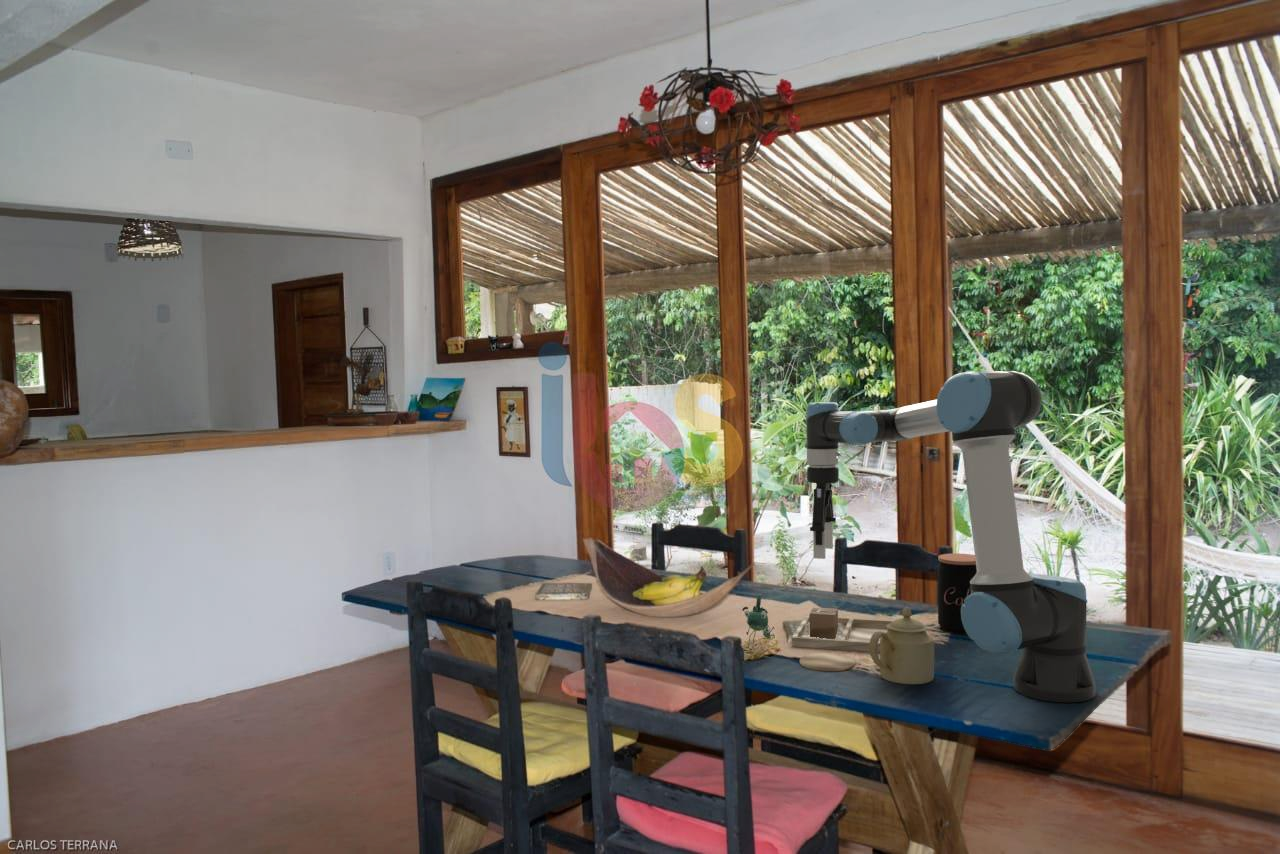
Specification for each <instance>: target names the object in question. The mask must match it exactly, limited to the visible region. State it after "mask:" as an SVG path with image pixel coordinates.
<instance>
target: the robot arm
mask: <svg viewBox="0 0 1280 854" xmlns="http://www.w3.org/2000/svg"><path fill="white" fill-rule="evenodd" d="M1042 396H1043V395H1042V392H1041V389H1040V387H1039V385H1038V384H1037V382H1036V381H1035V380H1034V379H1033V378H1032V377H1030V376H1029V375H1027V374H1025V373H1022V372H1019V371H1014V370H1004V371H1003V370H1002V371H1000V370H999V371H995V370H994V371H993V370H973V371H972V370H970V371H965V372H959V373H956V374H953V375H952V376H951V377H949V378H948V379H947V380H946V381H945V382H944V384H943V386H942V387H941V388H940V389H939V392H938V395H937V399H933V400H928V401H925V402H924V401H923V402H920V403H914V404H911V405H905V406H902V407H901V406H900V407H896V408H892V409H882V410H881V409H880V410H854V411H850V410H848V411H847V410H846V411H845V410H841V411H839V404H838V403H837V402H834V401H833V402H832V401H831V402H830V401H825V402H824V401H823V402H822V401H821V402H820V401H818V402H815V401H814V402H810V403H808V405H807V406H806V418H805V421H806V465H808V467H807V469H806V480H807V482H808V483H811V484H816V488H814V489H813V505H812V506H813V507H812V508H813V509H812V525H811V526H810V527H809V531H810V532H813V533H812V534H813V538H812V539H813V541H812V542H813V543H812V544H813V545H812V547H813V549H812V550H813V551H812V552H813V555H812V556H813V559H819V560H821V559H823V560H824V559H825V560H826V549H830V550H833V549H834V534H833V531H834V530H833V527H834V525H833V522H834V523H836V517H835V514H834V505H833V504H834V503H833V489H832V487H833V484H835V483H836V484H837V483H838V482H839V480H840V475H839V473H840V472H839V470H840V469H839V467H838V465H839V457H841V456H842V453H841V452H840V451H839V448H840V446H839V444H840V443H841V444H849V445H850V444H851V445H854V446H857V445H860V446H861V445H868V444H871V443H880V442H903V441H908V440H912V439H914V438H919V437H924V436H929V435H934V434H941V433H947V432H951V436H952V443H953V445H954V446H957V448H959V449H960V450H961V451H962V460H963V468H964V469H963V470H964V476H965V477H964V478H965V484H966V493H967V494H966V495H967V500H968V501H967V502H968V509H969V517H970V525H971V535H972V541H973V550H974V551H973V552H974V555H975V560H976V568H977V573H976V575H975V576H974V577H973V578H972V579H971V581H970V586H971V594H970V595H969V596H968V597H967V598H966V599H965V600H964V603H963V604H962V607H961V619H962V623H963V626H964V629H965V631H966V633H965V634H967V636H968V638H970V640H972V641H973V642H974V644H975V645H976V646H978V647H979V648H981V649H982V650H984V651H986V652H990V653H1002V652H1005V653H1009V652H1010V653H1011V652H1013V651H1016V650H1019V649H1022V652H1021V655H1020V657H1019V660H1018V662H1017V663H1018V664H1017V666H1016V668H1015V672H1014V674H1013V689H1014V690H1015V691H1016V692H1018V693H1019V694H1021V695H1024V696H1026V697H1029V698H1032V699H1034V700H1041V701H1048V702H1052V703H1053V702H1054V703H1081V702H1082V703H1083V702H1086V701H1090V700H1092V699H1094V698H1096V697H1095V696H1096V682H1095V679H1094V676H1093V672H1092V670H1091V666H1090V663H1089V661H1088V657H1087V604H1088V599H1087V588H1086V586H1085V584H1084V583H1083V582H1081V581H1080V580H1077V579H1073V578H1070V577H1065V576H1059V575H1051V574H1044V573H1043V574H1042V573H1028V572H1027V571H1026V570H1025V569H1024V562H1023V561H1024V560H1023V553H1022V544H1021V537H1020V530H1019V529H1020V528H1019V522H1018V514H1017V506H1016V498H1015V490H1014V481H1013V474H1012V466H1011V456H1010V450H1009V446H1010V444H1011V443H1012V441H1013V440H1015V438H1016V430H1015V429H1018V428H1021V427H1023V426H1026V425H1028V424H1030V423H1031V422H1032V421H1034V419H1035V418H1036V417H1038V414H1039V413H1040V412H1041V411H1040V410H1041V407H1042V401H1043V397H1042Z"/></svg>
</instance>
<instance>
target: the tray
mask: <svg viewBox="0 0 1280 854" xmlns="http://www.w3.org/2000/svg"><path fill="white" fill-rule="evenodd" d="M894 620H895V619H894ZM894 620H891V619H890V620H889V619H877V618H876V619H875V618H859V617H857V618H856V617H843V616H841V617H840V616H838V623H842V624H843V625H845V626H846V627H845V629H844V632H843V634H842V636H841V638H836V639H823V638H809V637H802V635H803V632H804V630H805V628H806V626H807V624H808V622H810V614H806V615H805V616H804V618H803V619H802V620H801V622H800V624H799V626H798V627H797V629H796V630H795V632H794V633H793V635H792V637H791V646H792V647H800V648H814V649H815V648H816V649H827V650H828V649H830V650H842V651H843V650H844V651H854V652H856V651H857V652H868V653H870V650H869V644H870V639H871V636H872V635H873V634H874V633H875V632H877V631H882V632H885V633H886V632H887V631H888V628H887V625H888V624H889V623H891V622H892V621H894ZM877 653H880V639H879V641H878V644H877Z"/></svg>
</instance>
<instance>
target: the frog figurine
mask: <svg viewBox="0 0 1280 854" xmlns="http://www.w3.org/2000/svg"><path fill="white" fill-rule="evenodd" d="M761 601H762V594H761V593H757V595H756V603H755V604H756V605H754V606H753V607H752V610H751V611H749V607H748V606H743V608H742V610H741V611H742V612H744V615H745V618H747V619H746V622H747V624H748V625H747V626H748V630H747V631H746V635H747V636H748V635H749V638H748V640H747V641H744V642H742V643H741V645H742V644H743V651H744V661H748V660H753V661H754V660H760V659H761V658H763V657H764V658H765V656H772V655H776V654H777V653H778V652H777V651H778V650H779V649H780V648H781V644H780V643H779V640H778V637H776V636H775V634H774V633H771V632H772V631H773V630H775V626H772V627H770V626H769V616H768V613H769V612H768V611H767V609H765V608H764V607H761V604H762V603H761ZM750 629H751V630H753V631H752V632H751V633H750V634H749V632H750ZM761 631H762V633H763V637H761V638H758V637H755V636H756V632H761ZM753 634H754V635H753ZM752 635H753V638H752V639H751V636H752Z"/></svg>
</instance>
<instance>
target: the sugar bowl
mask: <svg viewBox="0 0 1280 854" xmlns="http://www.w3.org/2000/svg"><path fill="white" fill-rule="evenodd" d="M901 614H902V617H901V618H897V619H894V621H892V622H891V623H889V624H888V625H887V628H888V631H887V632H886V633H885V632H882V631H877V632H875V633H874V634H873V635H872V636H871V639H870V644H869V650H870V652H869V655H870V657H871V660H872V661H873V663H874V664H875V665H876V666H877V668H879V669H880V677H881V678H883V680H885V681H888V682H891V683H896V684H901V685H922V684H928V683H931V682H932V681H934V679H935V678H934V677H935V674H934V673H935V640H934V638H933V636H931V635H929V634H928V633H927V630H928V626H926V625H925V624H923V623H922V622H921V621H919V620H917V619H914V618H911V616H912V614H913V613H912V610H911V609H910V607H908V606H905V607H904V608H903V609H902V612H901ZM879 639H880V652H877V644H878V641H879Z"/></svg>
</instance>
